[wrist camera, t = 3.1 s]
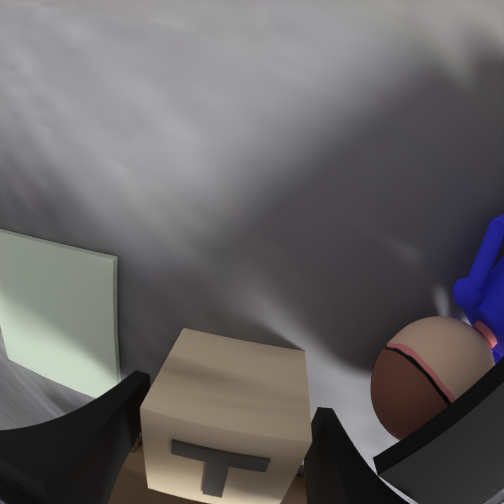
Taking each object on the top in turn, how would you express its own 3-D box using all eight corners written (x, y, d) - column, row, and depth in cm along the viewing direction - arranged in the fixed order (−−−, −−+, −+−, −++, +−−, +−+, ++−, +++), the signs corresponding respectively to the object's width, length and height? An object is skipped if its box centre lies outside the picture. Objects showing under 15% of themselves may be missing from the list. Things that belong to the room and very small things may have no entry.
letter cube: (278, 429, 14) (274, 515, 9) (178, 410, 14) (147, 490, 9) (304, 349, 13) (312, 444, 8) (184, 326, 13) (138, 410, 8)
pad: (122, 402, 14) (119, 406, 14) (12, 355, 15) (8, 358, 14) (117, 256, 12) (113, 259, 12) (-8, 226, 12) (-13, 228, 12)
